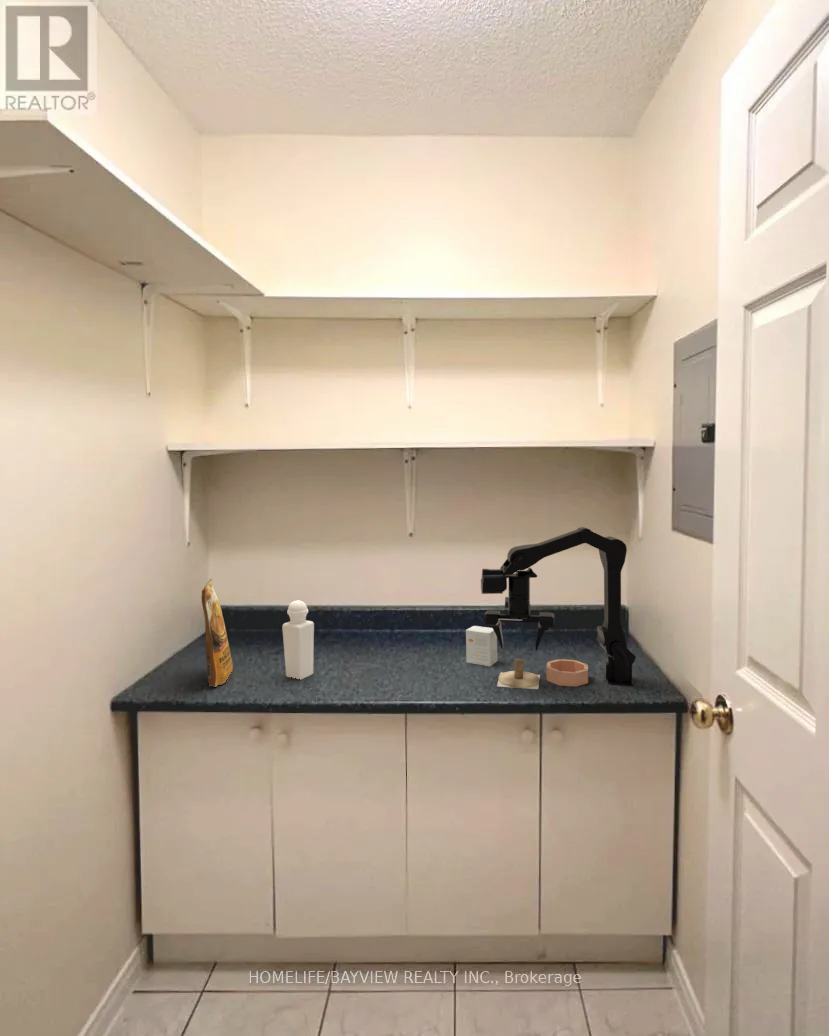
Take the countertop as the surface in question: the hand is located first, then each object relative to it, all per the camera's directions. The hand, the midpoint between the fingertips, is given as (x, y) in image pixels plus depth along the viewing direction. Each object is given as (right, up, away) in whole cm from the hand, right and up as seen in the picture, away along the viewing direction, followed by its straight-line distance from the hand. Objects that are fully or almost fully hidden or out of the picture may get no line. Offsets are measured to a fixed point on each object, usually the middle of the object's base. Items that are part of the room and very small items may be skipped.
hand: (519, 649), depth 169 cm
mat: (0, -9, +1) cm, 9 cm away
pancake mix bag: (-85, -10, +7) cm, 86 cm away
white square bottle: (-62, -10, +9) cm, 63 cm away
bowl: (+14, -9, +2) cm, 16 cm away
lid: (0, -9, +1) cm, 9 cm away
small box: (-8, -8, +17) cm, 21 cm away
